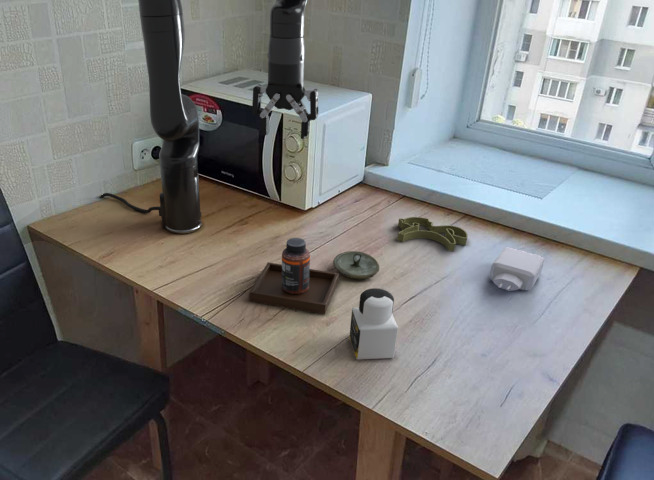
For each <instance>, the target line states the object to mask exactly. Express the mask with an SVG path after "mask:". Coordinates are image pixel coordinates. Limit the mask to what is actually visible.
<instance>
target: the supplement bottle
mask: <svg viewBox="0 0 654 480" xmlns="http://www.w3.org/2000/svg"><path fill="white" fill-rule="evenodd" d="M306 243H307V242H306V240H305V239H303V238H301V237H293V238H289V239H287V240H286V247H285V248H284V249H283V250H282V252H281V264H282V289H283V290H284V291H285V292H287V293H290V294H301V293H304V292H306V291H307V290H308V288H309V272H310V269H311V268H310V267H311V253H310V251H309V249H308V248H307V245H306Z"/></svg>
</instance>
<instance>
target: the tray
mask: <svg viewBox="0 0 654 480" xmlns="http://www.w3.org/2000/svg"><path fill="white" fill-rule="evenodd" d="M339 275H340V272H333V271H332V272H331V271H326V270H325V271H324V270H320V269H312V268H310V272H309V288H308V290H307V291H306V292H304V293H301V294H290V293H287V292H285V291H284V290H283V289H282V263H281V264H280V263H276V262H275V263H274V262H267V263H266V265H265V266H264V268H263V269H262V271H261V273H260V274H259V275H258V277H257V279H256V280H255V282H254V283H253V285H252V287H251V289H250V290H249V292H248V301H249V302H252V303H256V304H264V305H269V306H274V307H280V308H286V309H291V310H297V311H304V312H307V313H314V314H319V315H326V312H327V310H328V308H329V306H330V303H331V300H332V298H333V297H334V294H335V291H336V289H337V286H338V283H339Z"/></svg>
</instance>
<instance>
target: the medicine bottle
mask: <svg viewBox="0 0 654 480" xmlns="http://www.w3.org/2000/svg"><path fill="white" fill-rule="evenodd" d="M394 302H395V297H394V296H393V294H392V293H391V292H390V291H388V290H385V289H383V288H377V287H373V288H367V289H366V290H363V291H362V292H361V293H360V295H359V302H358V303H359V306H356V307H355V306H354V307H352V309H351V316H350V327H349V336H348V337H349V341H350V343H351V344H350V345H351V347H352V350H353V353H354V356H355V359H356V360H358V361H359V360H377V359H378V360H379V359H393V358H395V353H396V347H397V339H398V331H399V326H398V323H397V322H396V319H395V317H394V315H393V311H394Z"/></svg>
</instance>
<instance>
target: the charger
mask: <svg viewBox="0 0 654 480" xmlns="http://www.w3.org/2000/svg"><path fill="white" fill-rule="evenodd" d="M544 264H545V258H544V257H543V256H541V255H539V254H536V253H531V252H528V251H524V250H520V249H516V248H513V247H504V248H503V249H502V250H501V251H500V253H499V254H498V255H497V257H496V258H495V259H494V260H493V262H492V263H491V265H490V269H489V275H488V278H489V279H490V281H492V282H493V284H494V285H495V286H496V287H497V288H498V289H502V290H506V291H508V292H509V291H510V292H512V291H517V290H522V291H531V290H532V289H533V287H534V285H535V284H536V282H537V281H538V278H539V277H540V275H541V274H542V272H543V267H544Z"/></svg>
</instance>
